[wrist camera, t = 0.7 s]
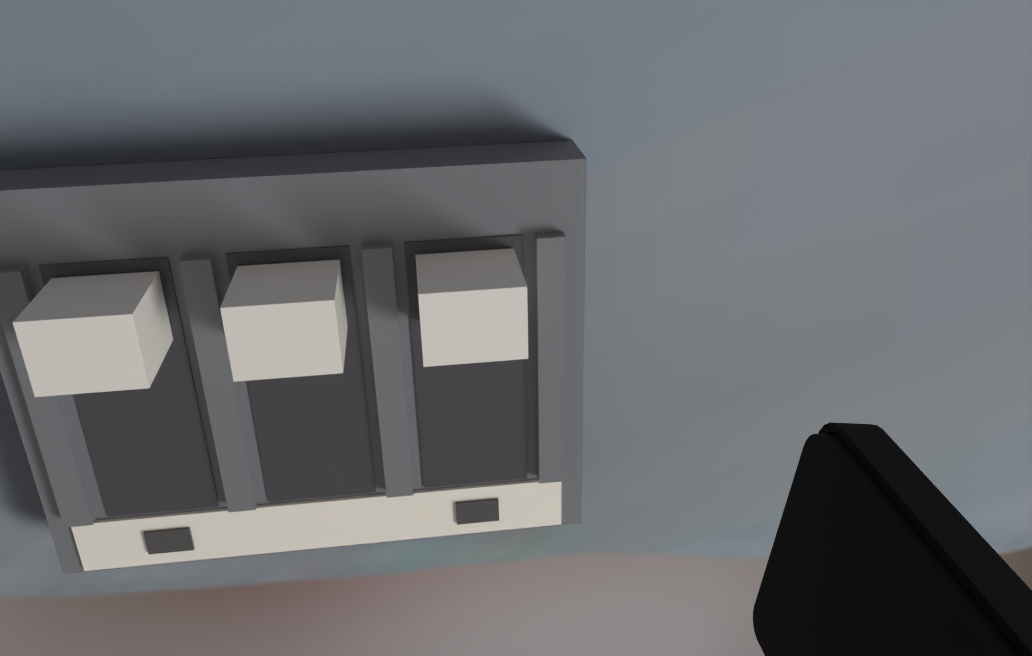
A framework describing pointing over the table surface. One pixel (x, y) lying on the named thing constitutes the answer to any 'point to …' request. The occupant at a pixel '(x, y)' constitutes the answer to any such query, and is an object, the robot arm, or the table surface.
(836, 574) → the robot arm
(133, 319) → the tab
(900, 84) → the table surface
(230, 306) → the tab middle
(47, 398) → the switch bank
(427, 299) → the tab
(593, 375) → the table surface
